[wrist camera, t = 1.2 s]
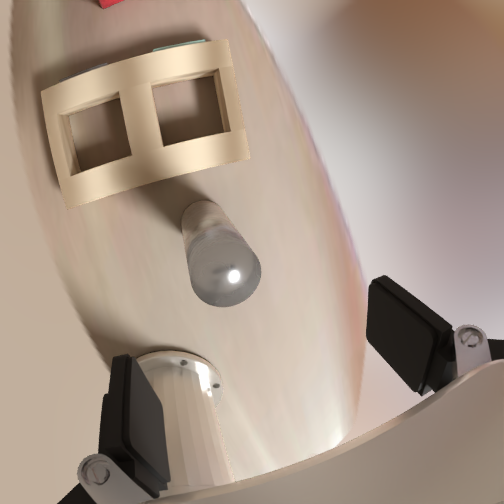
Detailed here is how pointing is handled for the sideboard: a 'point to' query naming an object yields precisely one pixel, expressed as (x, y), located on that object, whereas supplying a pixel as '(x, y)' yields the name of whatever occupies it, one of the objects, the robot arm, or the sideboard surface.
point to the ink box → (108, 3)
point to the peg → (218, 256)
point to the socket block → (143, 119)
